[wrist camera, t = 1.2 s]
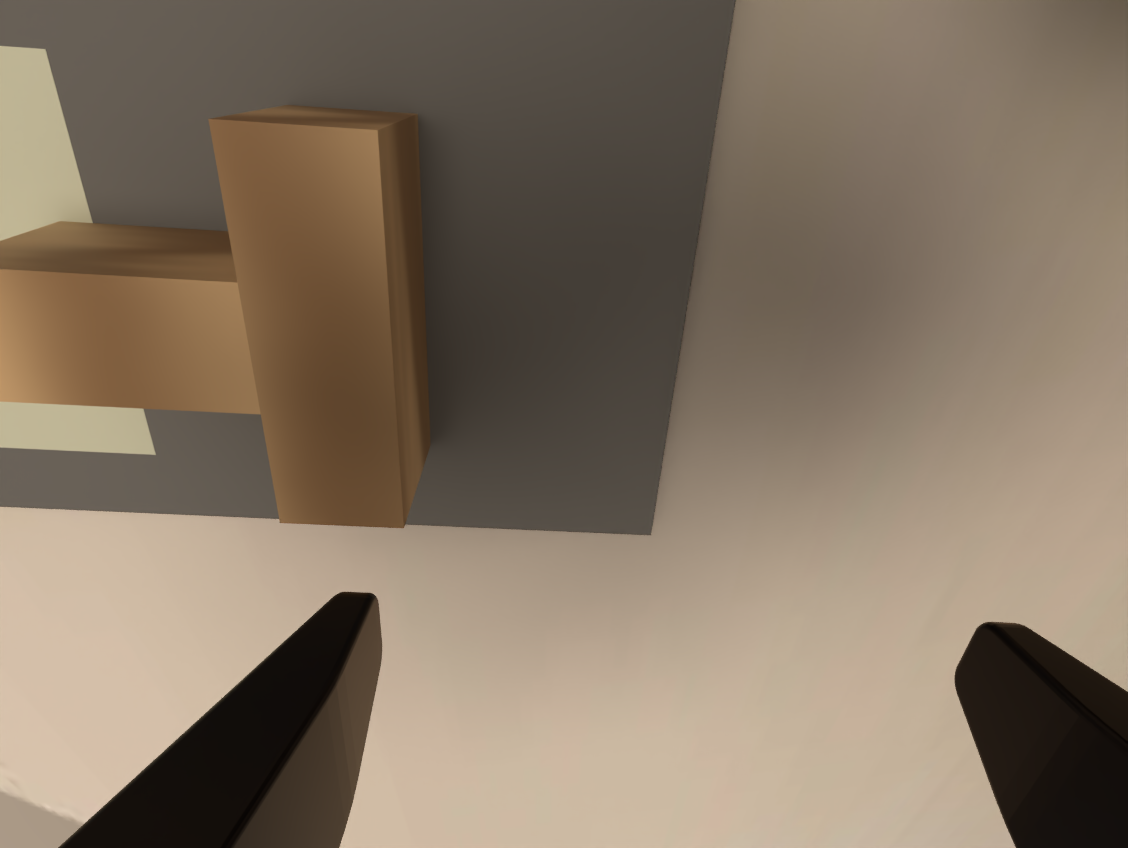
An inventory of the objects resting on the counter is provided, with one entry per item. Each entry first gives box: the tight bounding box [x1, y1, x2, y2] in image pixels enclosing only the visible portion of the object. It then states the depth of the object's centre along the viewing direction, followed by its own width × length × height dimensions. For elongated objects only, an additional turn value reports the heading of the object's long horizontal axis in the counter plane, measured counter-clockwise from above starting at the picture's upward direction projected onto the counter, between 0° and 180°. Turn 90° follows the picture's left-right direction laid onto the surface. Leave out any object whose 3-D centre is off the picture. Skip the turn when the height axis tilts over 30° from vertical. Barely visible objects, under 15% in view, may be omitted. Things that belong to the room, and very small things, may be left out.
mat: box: [0, 0, 735, 535], centre depth 17 cm, size 26×19×1 cm
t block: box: [0, 105, 431, 528], centre depth 16 cm, size 9×9×4 cm
